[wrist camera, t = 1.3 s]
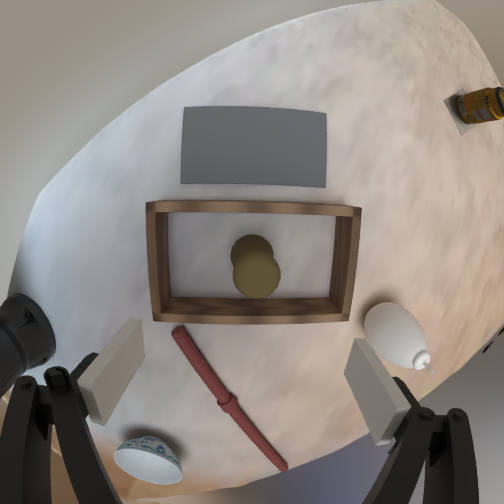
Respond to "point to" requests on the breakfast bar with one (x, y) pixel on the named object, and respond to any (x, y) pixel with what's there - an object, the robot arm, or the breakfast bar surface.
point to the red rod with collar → (224, 396)
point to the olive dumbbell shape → (254, 267)
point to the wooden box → (253, 309)
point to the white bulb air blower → (397, 336)
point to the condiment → (476, 107)
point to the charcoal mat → (254, 146)
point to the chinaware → (149, 460)
